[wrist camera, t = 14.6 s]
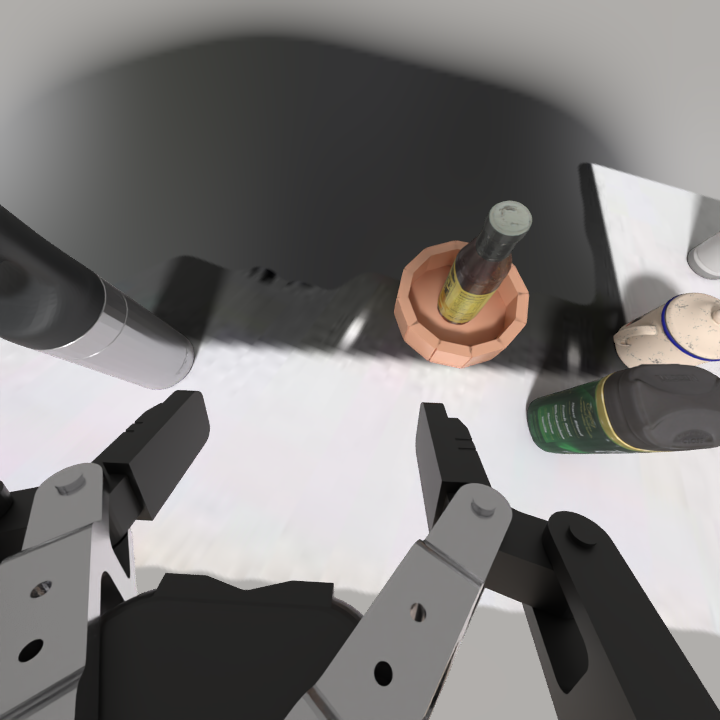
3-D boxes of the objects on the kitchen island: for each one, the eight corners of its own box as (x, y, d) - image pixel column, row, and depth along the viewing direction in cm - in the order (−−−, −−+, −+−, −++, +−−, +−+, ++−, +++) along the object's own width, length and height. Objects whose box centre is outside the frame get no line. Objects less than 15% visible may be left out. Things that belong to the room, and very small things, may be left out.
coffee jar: (530, 455, 43) (648, 451, 25) (520, 398, 45) (621, 357, 28) (602, 454, 43) (771, 449, 25) (588, 396, 45) (733, 355, 28)
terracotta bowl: (385, 351, 48) (387, 339, 43) (407, 252, 53) (412, 232, 48) (505, 378, 46) (522, 369, 41) (516, 274, 51) (532, 254, 47)
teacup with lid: (665, 322, 49) (755, 280, 37) (682, 379, 46) (784, 353, 35) (586, 320, 49) (652, 278, 38) (598, 377, 46) (673, 350, 35)
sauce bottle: (448, 284, 50) (499, 175, 31) (483, 304, 49) (559, 204, 30) (426, 315, 48) (466, 220, 29) (462, 337, 47) (527, 253, 28)
